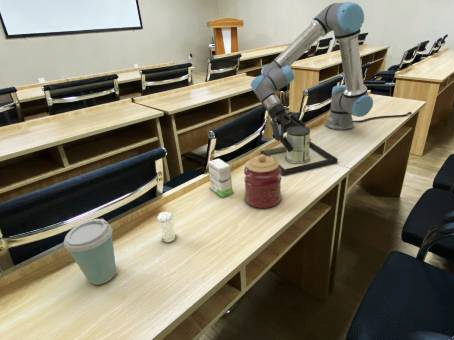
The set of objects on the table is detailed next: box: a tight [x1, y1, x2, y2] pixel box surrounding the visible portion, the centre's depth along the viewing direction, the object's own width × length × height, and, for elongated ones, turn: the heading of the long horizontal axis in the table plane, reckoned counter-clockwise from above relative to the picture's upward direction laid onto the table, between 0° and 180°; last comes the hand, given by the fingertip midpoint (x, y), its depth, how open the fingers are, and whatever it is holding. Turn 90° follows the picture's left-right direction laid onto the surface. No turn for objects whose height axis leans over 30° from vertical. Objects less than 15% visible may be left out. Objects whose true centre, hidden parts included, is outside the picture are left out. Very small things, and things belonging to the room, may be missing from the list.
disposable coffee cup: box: [63, 218, 117, 286], centre depth 77 cm, size 11×11×15 cm
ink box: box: [207, 158, 234, 198], centre depth 115 cm, size 9×5×12 cm, turn 38°
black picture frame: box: [259, 141, 339, 176], centre depth 141 cm, size 27×23×2 cm
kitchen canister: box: [243, 154, 282, 209], centre depth 108 cm, size 13×13×18 cm
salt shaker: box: [153, 211, 176, 243], centre depth 91 cm, size 4×5×10 cm
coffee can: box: [286, 126, 311, 164], centre depth 138 cm, size 10×10×14 cm
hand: (300, 146), depth 137 cm, fingers open, 13 cm apart
